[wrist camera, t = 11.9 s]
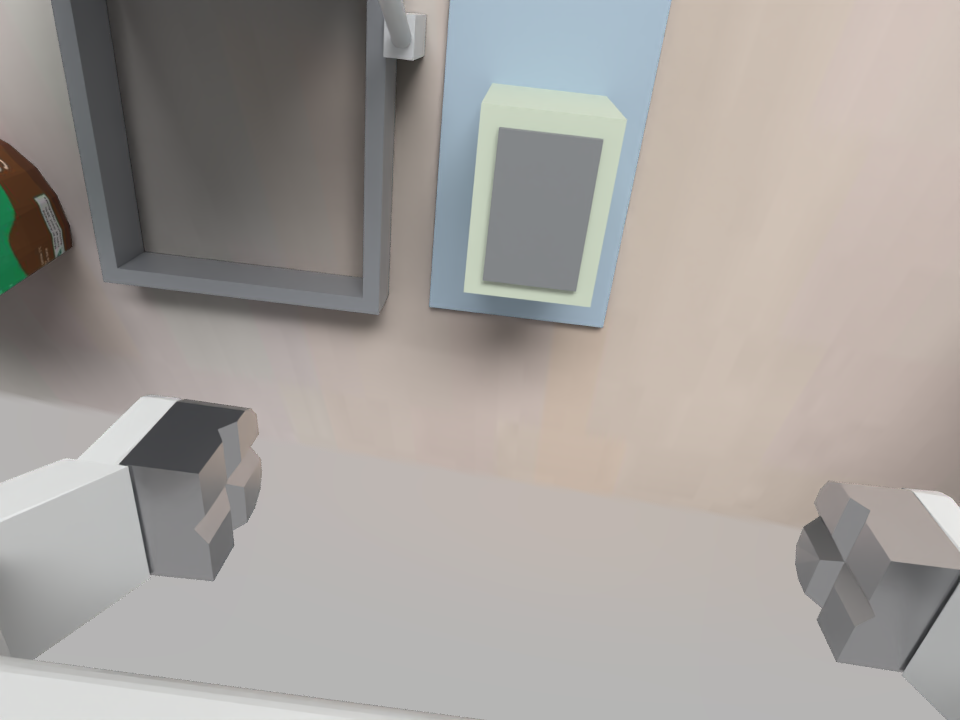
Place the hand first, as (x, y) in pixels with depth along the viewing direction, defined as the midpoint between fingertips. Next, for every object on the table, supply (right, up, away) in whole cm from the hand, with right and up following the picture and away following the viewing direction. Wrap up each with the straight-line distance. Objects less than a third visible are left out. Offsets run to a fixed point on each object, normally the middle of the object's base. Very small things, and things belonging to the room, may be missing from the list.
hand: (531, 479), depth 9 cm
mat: (+2, +11, +21) cm, 24 cm away
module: (+2, +10, +21) cm, 23 cm away
